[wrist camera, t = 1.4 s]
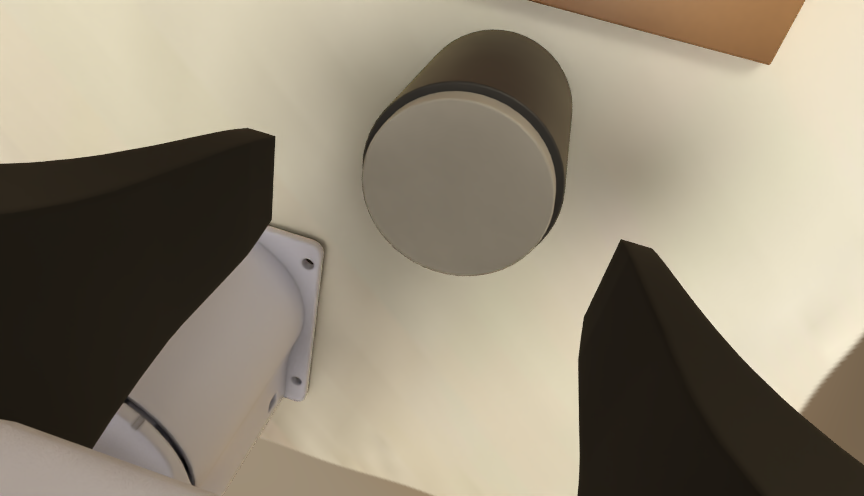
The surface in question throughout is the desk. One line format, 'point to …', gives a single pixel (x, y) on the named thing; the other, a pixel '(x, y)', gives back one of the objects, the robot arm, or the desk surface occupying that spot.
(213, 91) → the desk surface
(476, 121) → the thermos cap
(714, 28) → the brown wooden board
